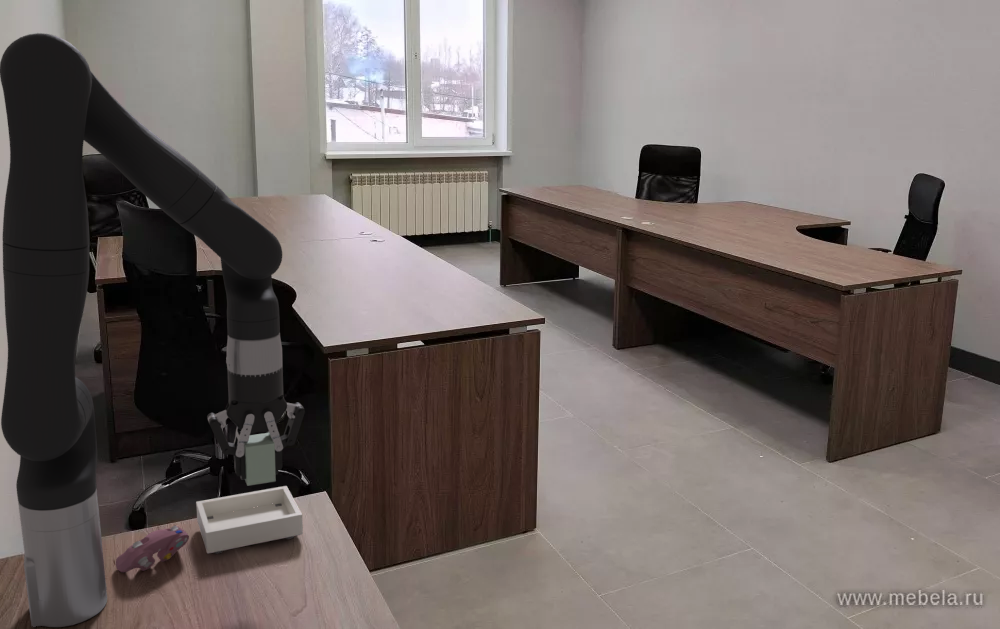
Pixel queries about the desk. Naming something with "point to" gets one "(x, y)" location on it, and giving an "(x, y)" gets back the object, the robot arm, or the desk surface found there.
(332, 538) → the desk surface
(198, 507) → the white planter box
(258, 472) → the sage block
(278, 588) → the desk surface
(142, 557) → the video game controller
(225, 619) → the desk surface
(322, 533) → the desk surface
